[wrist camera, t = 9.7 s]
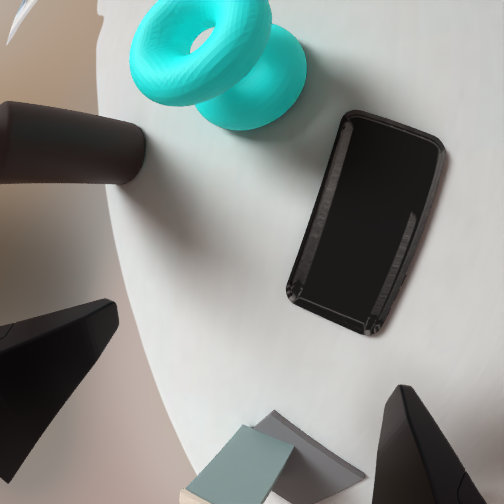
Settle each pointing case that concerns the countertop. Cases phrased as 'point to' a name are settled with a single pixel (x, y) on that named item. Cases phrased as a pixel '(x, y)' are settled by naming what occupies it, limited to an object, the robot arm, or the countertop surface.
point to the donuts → (219, 61)
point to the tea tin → (240, 471)
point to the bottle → (66, 146)
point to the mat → (307, 465)
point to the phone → (366, 221)
